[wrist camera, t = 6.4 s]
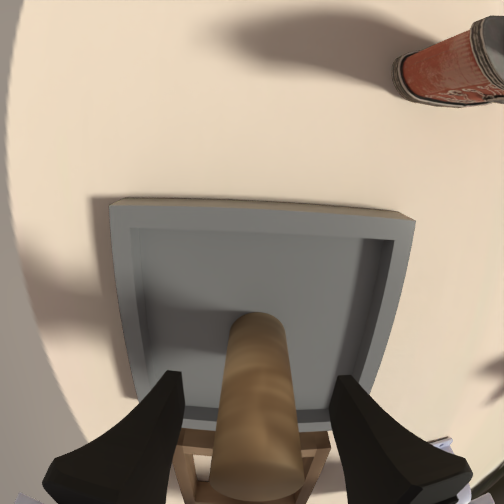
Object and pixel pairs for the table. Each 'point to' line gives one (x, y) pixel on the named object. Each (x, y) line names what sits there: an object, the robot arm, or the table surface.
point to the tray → (256, 292)
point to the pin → (257, 415)
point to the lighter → (456, 69)
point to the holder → (209, 500)
